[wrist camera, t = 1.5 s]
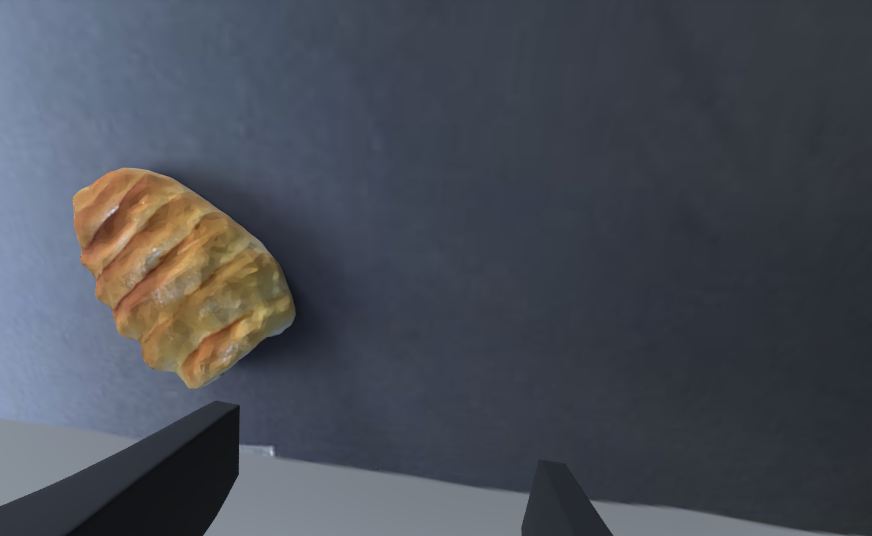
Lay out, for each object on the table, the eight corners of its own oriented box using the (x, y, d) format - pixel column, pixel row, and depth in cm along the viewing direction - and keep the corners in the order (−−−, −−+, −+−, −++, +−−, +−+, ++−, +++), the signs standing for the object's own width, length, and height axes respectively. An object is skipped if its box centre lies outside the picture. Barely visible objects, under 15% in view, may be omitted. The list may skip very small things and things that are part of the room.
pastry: (72, 228, 20) (-17, 247, 16) (169, 126, 19) (95, 123, 15) (223, 379, 22) (172, 428, 18) (324, 297, 20) (291, 331, 16)
